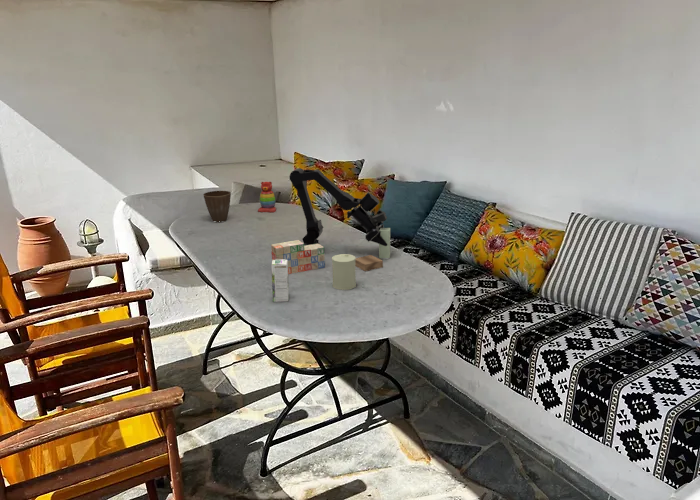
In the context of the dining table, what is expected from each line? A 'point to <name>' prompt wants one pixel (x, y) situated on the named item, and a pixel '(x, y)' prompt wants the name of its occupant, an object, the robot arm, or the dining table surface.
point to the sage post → (385, 250)
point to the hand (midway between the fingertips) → (387, 243)
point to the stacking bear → (267, 198)
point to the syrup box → (280, 280)
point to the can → (344, 271)
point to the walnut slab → (368, 263)
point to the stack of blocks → (299, 255)
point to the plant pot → (218, 204)
